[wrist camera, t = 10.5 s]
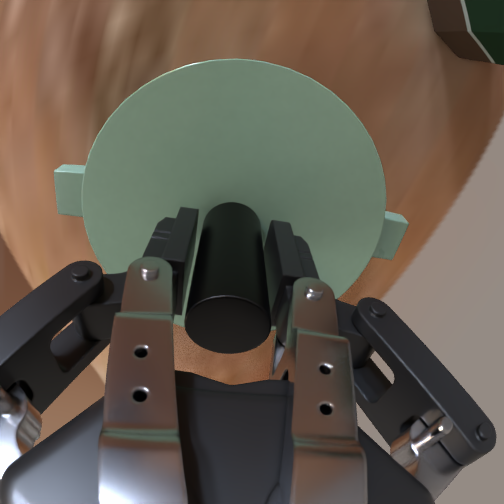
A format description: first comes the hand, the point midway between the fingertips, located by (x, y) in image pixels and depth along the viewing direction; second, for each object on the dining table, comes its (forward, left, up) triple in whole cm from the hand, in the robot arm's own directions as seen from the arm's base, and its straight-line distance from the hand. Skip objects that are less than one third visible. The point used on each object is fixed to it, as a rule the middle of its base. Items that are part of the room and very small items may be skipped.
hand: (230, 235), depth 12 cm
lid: (0, 0, -1) cm, 1 cm away
